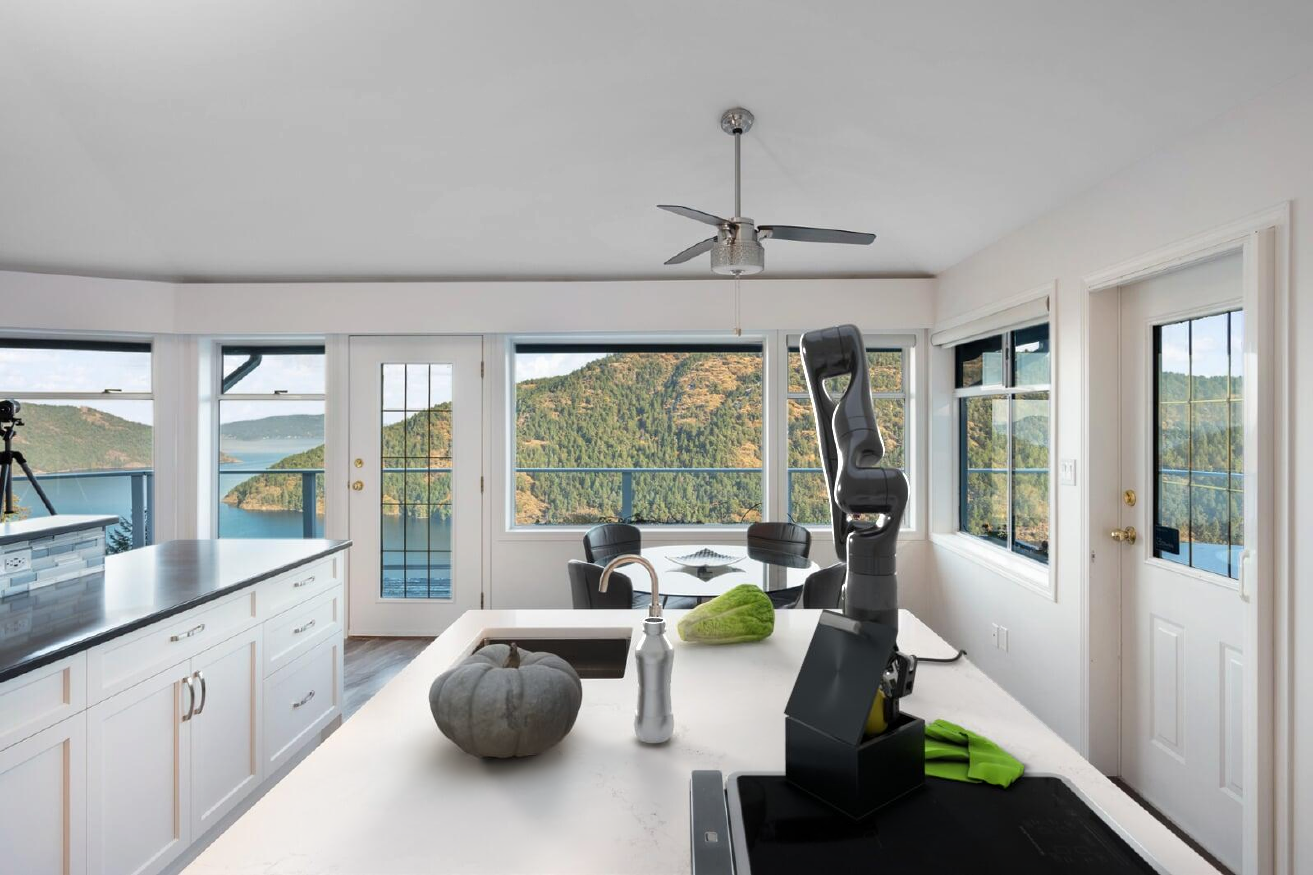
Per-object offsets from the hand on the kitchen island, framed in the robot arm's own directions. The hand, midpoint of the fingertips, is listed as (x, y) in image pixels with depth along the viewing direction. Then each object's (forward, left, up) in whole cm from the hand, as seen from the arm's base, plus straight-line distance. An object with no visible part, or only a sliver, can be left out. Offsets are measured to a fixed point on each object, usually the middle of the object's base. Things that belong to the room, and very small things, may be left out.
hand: (871, 714), depth 98 cm
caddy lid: (+7, 0, +8) cm, 10 cm away
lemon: (+1, +1, -4) cm, 4 cm away
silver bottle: (+19, -29, -10) cm, 36 cm away
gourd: (+39, -43, -10) cm, 59 cm away
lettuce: (-26, -62, -10) cm, 68 cm away
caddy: (+4, 0, -9) cm, 10 cm away
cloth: (-17, +2, -10) cm, 20 cm away
